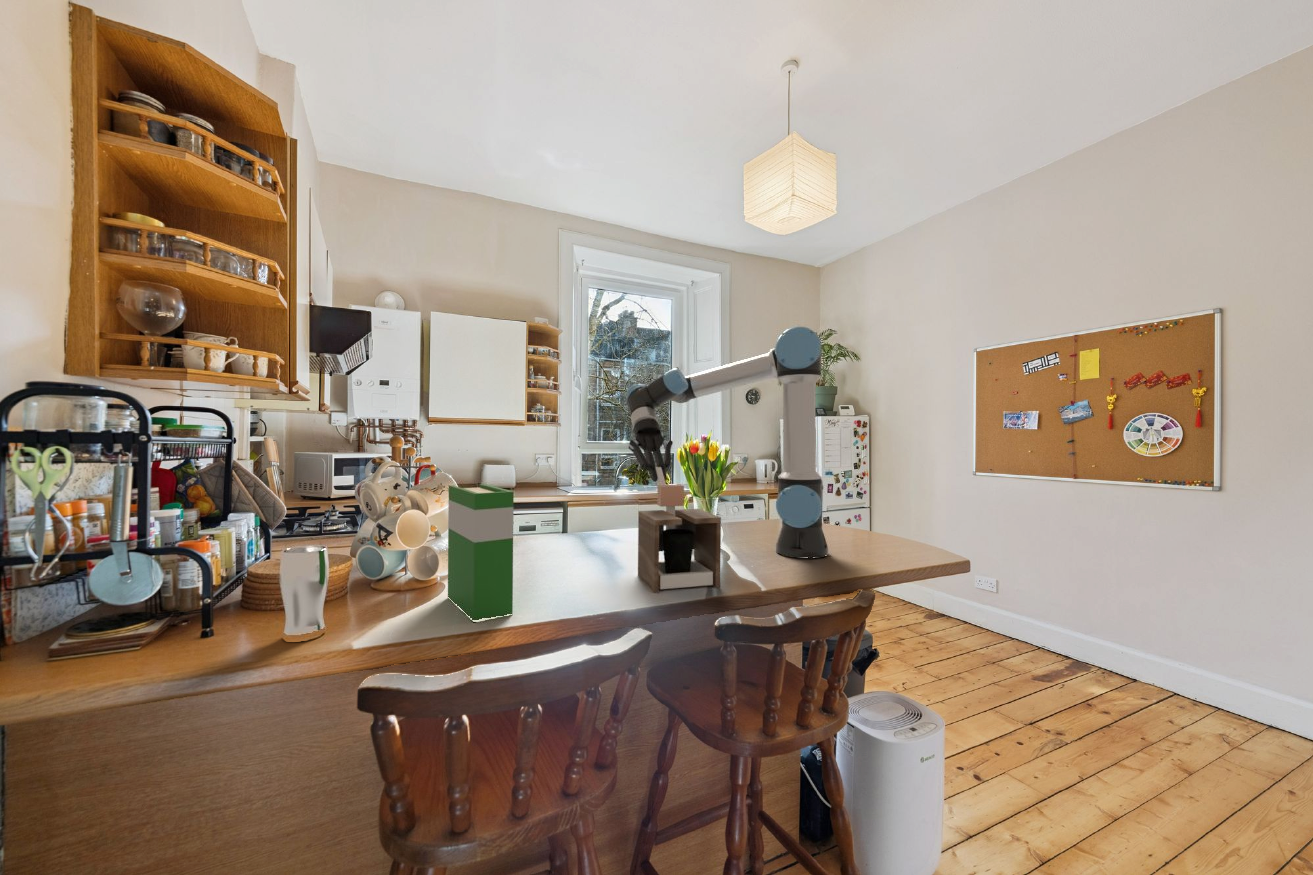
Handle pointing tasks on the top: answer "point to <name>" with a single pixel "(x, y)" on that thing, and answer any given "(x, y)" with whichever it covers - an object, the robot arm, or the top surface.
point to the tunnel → (690, 519)
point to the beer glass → (304, 587)
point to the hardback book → (481, 550)
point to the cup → (677, 550)
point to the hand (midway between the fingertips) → (662, 489)
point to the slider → (698, 572)
